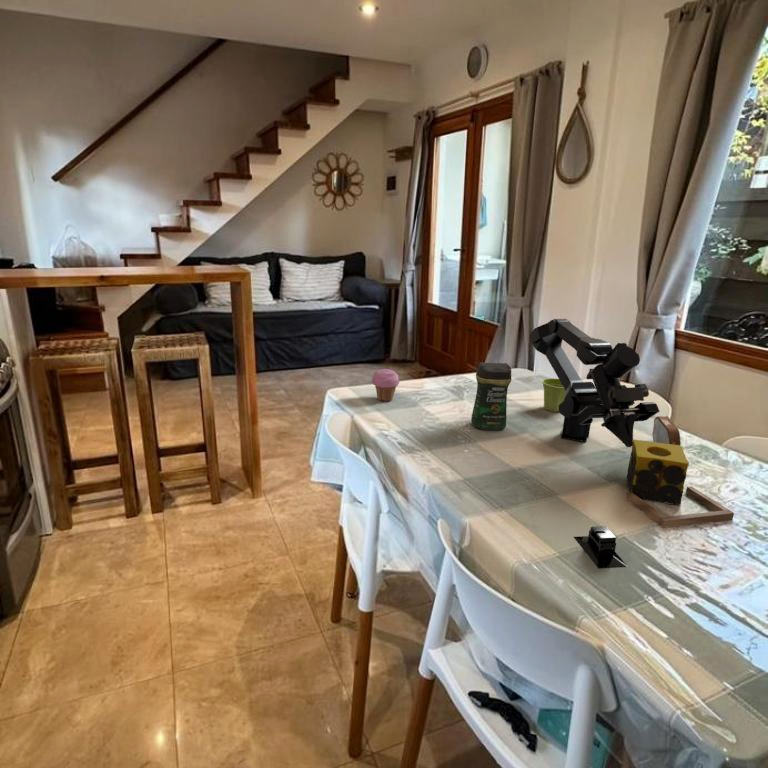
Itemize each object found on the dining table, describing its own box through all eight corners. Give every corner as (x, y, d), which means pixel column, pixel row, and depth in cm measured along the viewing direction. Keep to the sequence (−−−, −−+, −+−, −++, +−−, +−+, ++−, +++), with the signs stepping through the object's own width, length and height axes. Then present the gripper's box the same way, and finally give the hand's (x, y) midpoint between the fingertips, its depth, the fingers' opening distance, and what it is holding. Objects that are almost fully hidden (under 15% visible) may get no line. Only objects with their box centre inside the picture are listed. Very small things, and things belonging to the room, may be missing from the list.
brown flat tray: (625, 498, 114) (626, 492, 113) (690, 492, 117) (691, 486, 117) (662, 527, 103) (664, 520, 103) (732, 519, 107) (734, 512, 107)
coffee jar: (474, 431, 147) (480, 366, 142) (468, 420, 155) (474, 359, 149) (509, 431, 148) (516, 367, 142) (501, 421, 156) (507, 359, 150)
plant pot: (573, 408, 169) (576, 381, 166) (565, 416, 161) (569, 389, 158) (543, 401, 173) (547, 376, 171) (534, 409, 166) (538, 383, 163)
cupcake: (398, 404, 166) (400, 373, 163) (370, 403, 166) (371, 372, 163) (398, 395, 175) (399, 366, 172) (371, 394, 175) (372, 365, 172)
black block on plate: (565, 535, 101) (568, 513, 99) (601, 533, 102) (605, 512, 100) (598, 577, 89) (602, 553, 88) (638, 575, 90) (643, 552, 89)
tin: (678, 464, 131) (685, 433, 129) (664, 463, 132) (671, 431, 129) (660, 440, 145) (666, 412, 143) (648, 439, 146) (654, 410, 143)
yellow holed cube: (673, 485, 120) (682, 445, 117) (681, 507, 111) (691, 463, 108) (625, 477, 124) (632, 437, 121) (629, 497, 114) (637, 455, 111)
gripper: (591, 372, 122) (614, 435, 115) (661, 370, 126) (687, 430, 119) (568, 394, 131) (587, 453, 124) (633, 391, 136) (656, 448, 129)
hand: (630, 446), depth 124 cm, fingers closed
